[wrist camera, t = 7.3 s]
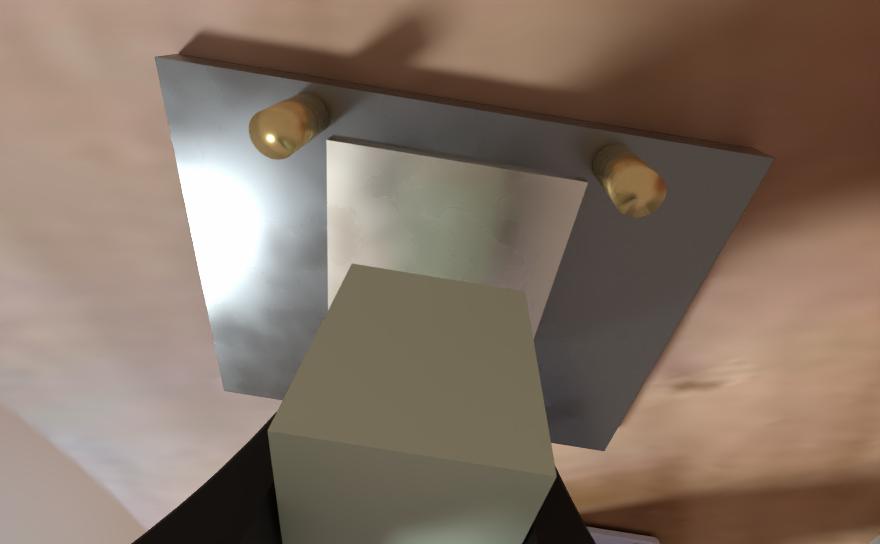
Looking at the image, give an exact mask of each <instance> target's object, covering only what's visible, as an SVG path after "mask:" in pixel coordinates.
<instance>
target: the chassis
mask: <svg viewBox="0 0 880 544" xmlns="http://www.w3.org/2000/svg"><path fill="white" fill-rule="evenodd" d="M155 61H156V66H157V71H158V76H159V80H160V85H161V90H162V95H163V100H164V104H165V109H166V114H167V119H168V124H169V128H170V133H171V138H172V143H173V148H174V152H175V157H176V162H177V167H178V172H179V176H180V181H181V186H182V191H183V196H184V200H185V205H186V210H187V215H188V220H189V224H190V229H191V234H192V239H193V244H194V248H195V253H196V258H197V263H198V268H199V272H200V277H201V282H202V287H203V292H204V296H205V301H206V306H207V311H208V316H209V320H210V325H211V330H212V335H213V340H214V344H215V349H216V354H217V359H218V364H219V368H220V373H221V378H222V383H223V388H224V391H228V392H234V393H241V394H247V395H253V396H259V397H266V398H272V399H278V400H283V399H284V397H285V395H286V393H287V391H288V389H289V387H290V385H291V383H292V381H293V379H294V377H295V375H296V373H297V371H298V369H299V367H300V365H301V363H302V361H303V359H304V357H305V355H306V353H307V351H308V349H309V347H310V345H311V344H312V342H313V340H314V338H315V336H316V334H317V332H318V330H319V328H320V326H321V324H322V322H323V320H324V318H325V316H326V314H327V312H328V310H329V308H330V306H331V304H332V302H333V300H334V298H335V296H336V294H337V292H338V290H339V288H340V286H341V284H342V282H343V280H344V278H345V276H346V274H347V272H348V270H349V268H350V266H351V264H358V265H364V266H371V267H377V268H383V269H389V270H395V271H401V272H407V273H414V274H420V275H426V276H432V277H438V278H444V279H451V280H457V281H463V282H469V283H475V284H481V285H487V286H494V287H500V288H506V289H512V290H518V291H524V292H525V293H526V299H527V305H528V310H529V316H530V322H531V328H532V334H533V340H534V346H535V352H536V358H537V364H538V369H539V375H540V381H541V387H542V393H543V399H544V405H545V411H546V417H547V423H548V428H549V434H550V440H551V443H556V444H563V445H569V446H575V447H581V448H588V449H594V450H600V451H605V449H606V447H607V445H608V444H609V442H610V440H611V439H612V437H613V435H614V433H615V432H616V430H617V428H618V427H619V425H620V423H621V421H622V420H623V418H624V416H625V415H626V413H627V411H628V409H629V408H630V406H631V404H632V403H633V401H634V399H635V397H636V396H637V394H638V392H639V390H640V389H641V387H642V385H643V384H644V382H645V380H646V378H647V377H648V375H649V373H650V372H651V370H652V368H653V366H654V365H655V363H656V361H657V360H658V358H659V356H660V354H661V353H662V351H663V349H664V348H665V346H666V344H667V342H668V341H669V339H670V337H671V336H672V334H673V332H674V330H675V329H676V327H677V325H678V324H679V322H680V320H681V318H682V317H683V315H684V313H685V311H686V310H687V308H688V306H689V305H690V303H691V301H692V299H693V298H694V296H695V294H696V293H697V291H698V289H699V287H700V286H701V284H702V282H703V281H704V279H705V277H706V275H707V274H708V272H709V270H710V269H711V267H712V265H713V263H714V262H715V260H716V258H717V257H718V255H719V253H720V251H721V250H722V248H723V246H724V245H725V243H726V241H727V239H728V238H729V236H730V234H731V233H732V231H733V229H734V227H735V226H736V224H737V222H738V220H739V219H740V217H741V215H742V214H743V212H744V210H745V208H746V207H747V205H748V203H749V202H750V200H751V198H752V196H753V195H754V193H755V191H756V190H757V188H758V186H759V184H760V183H761V181H762V179H763V178H764V176H765V174H766V172H767V171H768V169H769V167H770V166H771V164H772V162H773V160H774V159H775V158H773V157H771V156H769V155H767V154H764V153H762V152H760V151H758V150H756V149H753V148H747V147H741V146H734V145H728V144H722V143H716V142H710V141H704V140H698V139H692V138H686V137H679V136H673V135H667V134H661V133H655V132H649V131H643V130H637V129H631V128H625V127H618V126H612V125H606V124H600V123H594V122H588V121H582V120H576V119H570V118H564V117H557V116H551V115H545V114H539V113H533V112H527V111H521V110H515V109H509V108H502V107H496V106H490V105H484V104H478V103H472V102H466V101H460V100H454V99H448V98H441V97H435V96H429V95H423V94H417V93H411V92H405V91H399V90H393V89H387V88H380V87H374V86H368V85H362V84H356V83H350V82H344V81H338V80H332V79H326V78H319V77H313V76H307V75H301V74H295V73H289V72H283V71H277V70H271V69H264V68H258V67H252V66H246V65H240V64H234V63H228V62H222V61H216V60H210V59H203V58H197V57H191V56H185V55H179V54H173V55H165V56H158V57H155Z"/></svg>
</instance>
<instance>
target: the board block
mask: <svg viewBox="0 0 880 544" xmlns="http://www.w3.org/2000/svg"><path fill="white" fill-rule="evenodd" d="M268 438H269V446H270V453H271V461H272V468H273V476H274V483H275V491H276V498H277V506H278V513H279V521H280V528H281V536H282V543H283V544H522V543H523V541H524V539H525V537H526V535H527V533H528V531H529V529H530V527H531V525H532V523H533V521H534V520H535V518H536V516H537V514H538V512H539V510H540V508H541V506H542V504H543V502H544V500H545V498H546V496H547V494H548V492H549V490H550V488H551V487H552V485H553V483H554V481H555V479H556V477H557V476H556V470H555V464H554V458H553V452H552V446H551V440H550V434H549V428H548V423H547V417H546V411H545V405H544V399H543V393H542V387H541V381H540V375H539V369H538V364H537V358H536V352H535V346H534V340H533V334H532V328H531V322H530V316H529V310H528V305H527V299H526V293H525V292H524V291H518V290H512V289H506V288H500V287H494V286H487V285H481V284H475V283H469V282H463V281H457V280H451V279H444V278H438V277H432V276H426V275H420V274H414V273H407V272H401V271H395V270H389V269H383V268H377V267H371V266H364V265H358V264H351V266H350V268H349V270H348V272H347V274H346V276H345V278H344V280H343V282H342V284H341V286H340V288H339V290H338V292H337V294H336V296H335V298H334V300H333V302H332V304H331V306H330V308H329V310H328V312H327V314H326V316H325V318H324V320H323V322H322V324H321V326H320V328H319V330H318V332H317V334H316V336H315V338H314V340H313V342H312V344H311V345H310V347H309V349H308V351H307V353H306V355H305V357H304V359H303V361H302V363H301V365H300V367H299V369H298V371H297V373H296V375H295V377H294V379H293V381H292V383H291V385H290V387H289V389H288V391H287V393H286V395H285V397H284V399H283V401H282V403H281V405H280V407H279V409H278V411H277V413H276V415H275V417H274V419H273V421H272V423H271V425H270V427H269V429H268Z"/></svg>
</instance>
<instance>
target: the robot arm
mask: <svg viewBox="0 0 880 544" xmlns="http://www.w3.org/2000/svg"><path fill="white" fill-rule="evenodd" d="M276 413H277V412H276ZM276 413H275V414H274V415H273V416H272V417H271V419H270V420H269V421H268V422H267V423H266V424H265V425H264V426H263V427H262V428H261V429H260V430H259V431H258V432H257V433H256V435H255V436H254V437H253V438H252V439H251V440H250V441H249V442H248V443H247V444H246V445H245V446H244V447H243V448H242V449H241V450H240V451H239V452H238V453H236V454H235V455H234V456H233V457H232V458H231V459H230V460H229V461H228V462H227V463H226V464H225V465H224V466H223V467H222V468H221V469H220V470H219V471H218V472H217V473H216V474H215V475H213V476H212V477H211V478H210V479H209V480H208V481H207V482H206V483H205V484H204V485H202V486H201V487H200V488H199V489H198V490H197V491H196V492H194V493H193V494H192V495H191V496H190V497H189V498H187V499H186V500H185V501H184V502H183V503H182V504H180V505H179V506H178V507H177V508H176V509H174V510H173V511H172V512H171V513H169V514H168V515H167V516H166V517H165V518H163V519H162V520H161V521H160V522H158V523H157V524H156V525H155V526H153V527H152V528H151V529H150V530H148V531H147V532H146V533H145V534H143V535H142V536H141V537H140V538H138V539H137V540H136V541H134V542H133V543H132V544H283V543H282V536H281V528H280V521H279V513H278V506H277V498H276V491H275V483H274V476H273V468H272V461H271V453H270V446H269V438H268V429H269V427H270V425H271V423H272V421H273V419H274V417H275V415H276ZM555 470H556V476H557V477H556V479H555V481H554V483H553V485H552V487H551V488H550V490H549V492H548V494H547V496H546V498H545V500H544V502H543V504H542V506H541V508H540V510H539V512H538V514H537V516H536V518H535V520H534V521H533V523H532V525H531V527H530V529H529V531H528V533H527V535H526V537H525V539H524V541H523V543H522V544H660V542H659V540H658V539H657V538H655V537H651V536H645V535H638V534H632V533H625V532H619V531H613V530H606V529H600V528H594V527H587V526H586V525H585V523H584V521H583V519H582V518H581V516H580V514H579V512H578V510H577V509H576V507H575V505H574V503H573V501H572V499H571V497H570V495H569V493H568V491H567V489H566V487H565V485H564V483H563V481H562V479H561V477H560V475H559V473H558V471H557V469H556V467H555Z"/></svg>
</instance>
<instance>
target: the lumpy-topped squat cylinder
mask: <svg viewBox="0 0 880 544" xmlns="http://www.w3.org/2000/svg"><path fill="white" fill-rule="evenodd" d="M869 544H880V534H879V535H878V536H877V537H876V538H875V539H874V540H872V541H871V542H870V543H869Z"/></svg>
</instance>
